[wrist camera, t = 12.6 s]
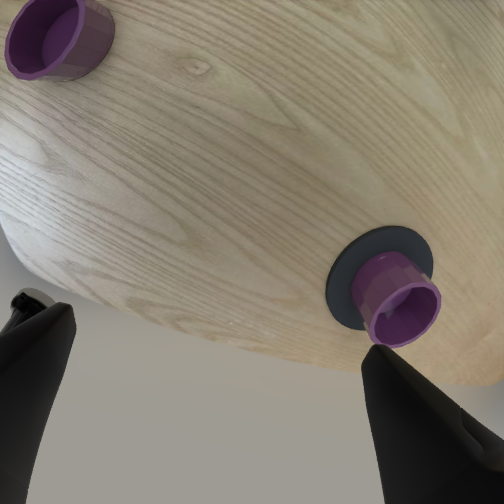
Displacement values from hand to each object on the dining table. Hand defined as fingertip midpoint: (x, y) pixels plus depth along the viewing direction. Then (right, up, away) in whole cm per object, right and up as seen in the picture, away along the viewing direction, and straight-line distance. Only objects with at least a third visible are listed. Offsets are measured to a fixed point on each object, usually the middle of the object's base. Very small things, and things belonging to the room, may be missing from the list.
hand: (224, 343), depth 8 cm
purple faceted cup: (-11, +17, +5) cm, 21 cm away
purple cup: (+11, 0, +15) cm, 19 cm away
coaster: (+11, 0, +15) cm, 19 cm away
